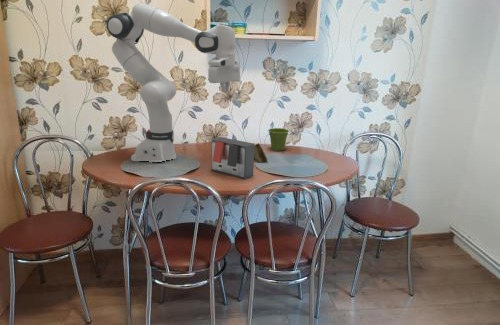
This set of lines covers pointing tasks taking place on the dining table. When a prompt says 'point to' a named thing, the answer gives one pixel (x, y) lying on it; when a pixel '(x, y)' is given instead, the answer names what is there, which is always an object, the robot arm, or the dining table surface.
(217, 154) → the rocker red
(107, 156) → the dining table surface
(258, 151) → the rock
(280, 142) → the plant pot
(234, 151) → the rocker black
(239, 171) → the rocker switch panel
